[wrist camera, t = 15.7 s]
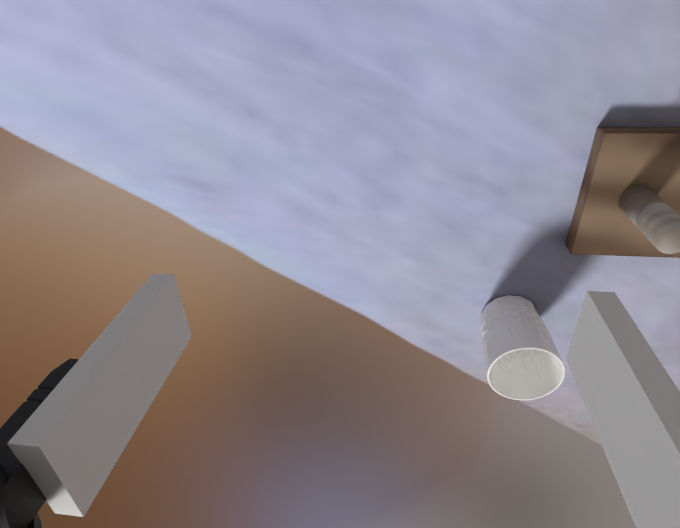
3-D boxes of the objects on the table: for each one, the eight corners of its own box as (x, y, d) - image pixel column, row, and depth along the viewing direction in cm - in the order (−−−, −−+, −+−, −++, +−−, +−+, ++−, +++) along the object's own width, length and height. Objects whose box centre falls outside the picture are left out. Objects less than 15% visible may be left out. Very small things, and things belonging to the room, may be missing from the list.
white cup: (492, 283, 54) (507, 338, 46) (554, 301, 54) (580, 360, 46) (465, 330, 58) (475, 389, 50) (523, 346, 59) (542, 408, 50)
